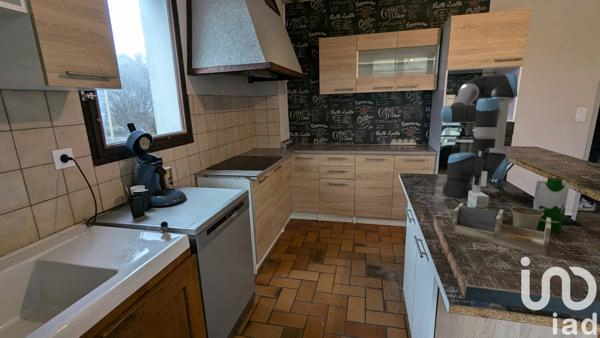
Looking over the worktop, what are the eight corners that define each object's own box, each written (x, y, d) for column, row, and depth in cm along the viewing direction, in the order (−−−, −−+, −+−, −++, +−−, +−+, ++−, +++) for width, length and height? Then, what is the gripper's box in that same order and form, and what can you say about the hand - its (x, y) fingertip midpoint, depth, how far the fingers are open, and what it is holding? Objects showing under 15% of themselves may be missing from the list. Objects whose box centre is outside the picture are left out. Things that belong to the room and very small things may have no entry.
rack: (459, 223, 112) (460, 202, 110) (546, 242, 94) (550, 217, 93) (451, 233, 103) (453, 210, 102) (546, 256, 86) (550, 229, 84)
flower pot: (528, 239, 97) (531, 216, 95) (502, 229, 105) (504, 208, 104) (546, 236, 99) (550, 213, 97) (519, 226, 108) (522, 205, 106)
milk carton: (533, 230, 104) (540, 179, 100) (528, 222, 112) (535, 174, 108) (564, 234, 100) (573, 181, 96) (557, 226, 107) (565, 176, 103)
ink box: (487, 224, 111) (490, 196, 109) (473, 223, 112) (476, 195, 110) (478, 216, 119) (480, 190, 117) (465, 215, 120) (468, 190, 118)
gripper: (479, 135, 121) (474, 182, 124) (466, 139, 102) (461, 194, 106) (500, 136, 116) (494, 184, 120) (490, 140, 98) (484, 197, 101)
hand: (479, 189), depth 113 cm, fingers open, 13 cm apart
